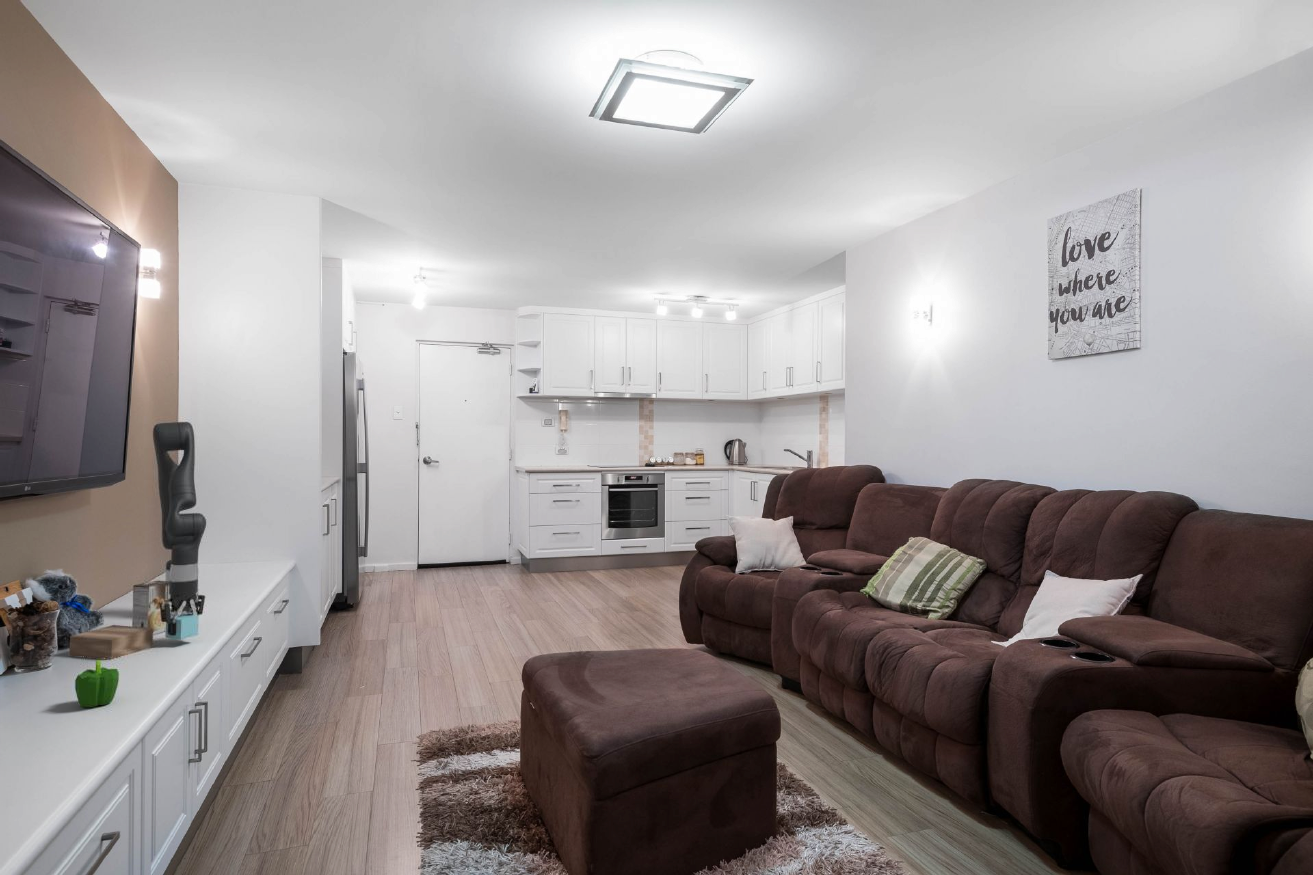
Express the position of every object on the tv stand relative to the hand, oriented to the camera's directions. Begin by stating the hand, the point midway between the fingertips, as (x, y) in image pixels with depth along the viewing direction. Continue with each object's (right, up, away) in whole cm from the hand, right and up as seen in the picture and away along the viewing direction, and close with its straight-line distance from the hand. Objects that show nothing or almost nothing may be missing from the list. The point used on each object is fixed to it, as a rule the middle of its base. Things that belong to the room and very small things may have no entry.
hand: (181, 632), depth 229 cm
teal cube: (0, -1, 0) cm, 1 cm away
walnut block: (-14, -3, -10) cm, 18 cm away
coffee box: (-17, -3, +12) cm, 21 cm away
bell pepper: (+13, -4, -52) cm, 54 cm away
